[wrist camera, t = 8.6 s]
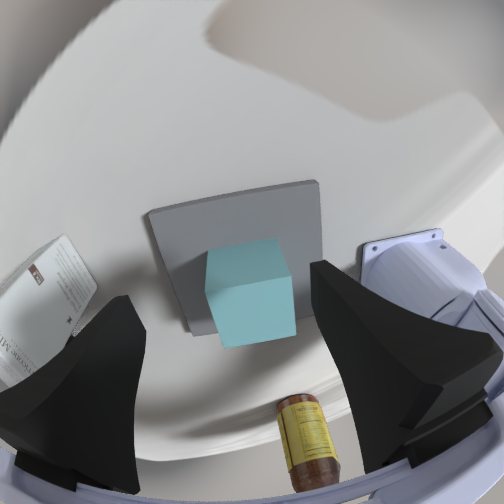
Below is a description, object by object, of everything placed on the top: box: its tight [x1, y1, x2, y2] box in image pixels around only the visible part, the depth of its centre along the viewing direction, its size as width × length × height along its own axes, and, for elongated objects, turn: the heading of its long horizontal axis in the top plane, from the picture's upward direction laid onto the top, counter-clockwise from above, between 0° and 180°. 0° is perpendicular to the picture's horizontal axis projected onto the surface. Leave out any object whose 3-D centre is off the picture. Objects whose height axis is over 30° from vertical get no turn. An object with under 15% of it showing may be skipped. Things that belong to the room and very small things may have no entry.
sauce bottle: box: [277, 394, 340, 493], centre depth 25 cm, size 6×6×20 cm
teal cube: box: [205, 238, 296, 348], centre depth 19 cm, size 5×5×5 cm
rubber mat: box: [148, 180, 323, 337], centre depth 21 cm, size 12×12×1 cm
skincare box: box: [0, 234, 97, 388], centre depth 15 cm, size 6×4×12 cm
